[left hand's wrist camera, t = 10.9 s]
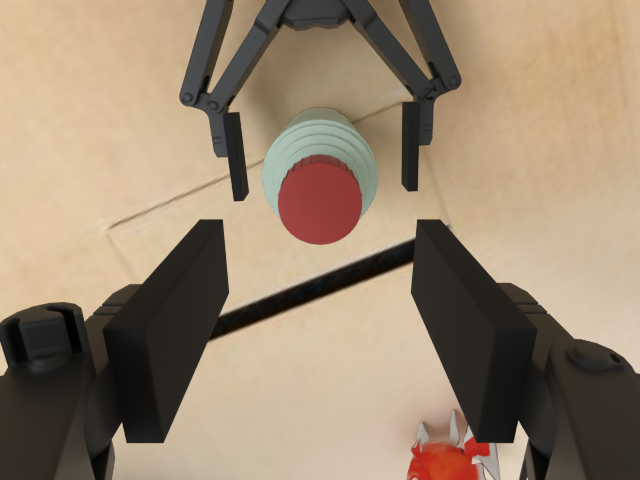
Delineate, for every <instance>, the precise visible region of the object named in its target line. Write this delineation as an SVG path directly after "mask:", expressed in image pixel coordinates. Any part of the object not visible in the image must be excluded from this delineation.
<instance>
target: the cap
mask: <svg viewBox="0 0 640 480" xmlns="http://www.w3.org/2000/svg"><path fill="white" fill-rule="evenodd" d="M280 187H281V188H280V191H279V193H278V196H279V197H278V211H279V215H280V218H281V221H282V222H283V224H284V226H285V227H286V229H287V230H288V231H289V232H290V233H291V234H292V235H294V236H295V237H296V238H298V239H300V240H302V241H304V242H307V243H310V244H318V245H322V244H330V243H333V242H336V241H338V240H340V239H342V238H344V237H345V236H347V235H348V234H349V233H350V232H351V231H352V230H353V229H354V227H355V226H356V224H357V222H358V221H359V218H360V215H361V211H362V194H361V191H360V186H359V183H358V181H357V178H355V176H354V173H353V171H352V170H350V168H349V167H348V166H347V164H346V163H343V162H342V161H340V160H339V158H335V157H332V156H330V155H329V156H328V155H321V154H319V155H310V156H308V157H305V158H301V160H299V161H298V162H297V163H294V165H293V166H292V167H291V168H290V170H289V169H288V171H287V174H286V176H285V177H284V178H283V181H282V183H281V186H280Z"/></svg>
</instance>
